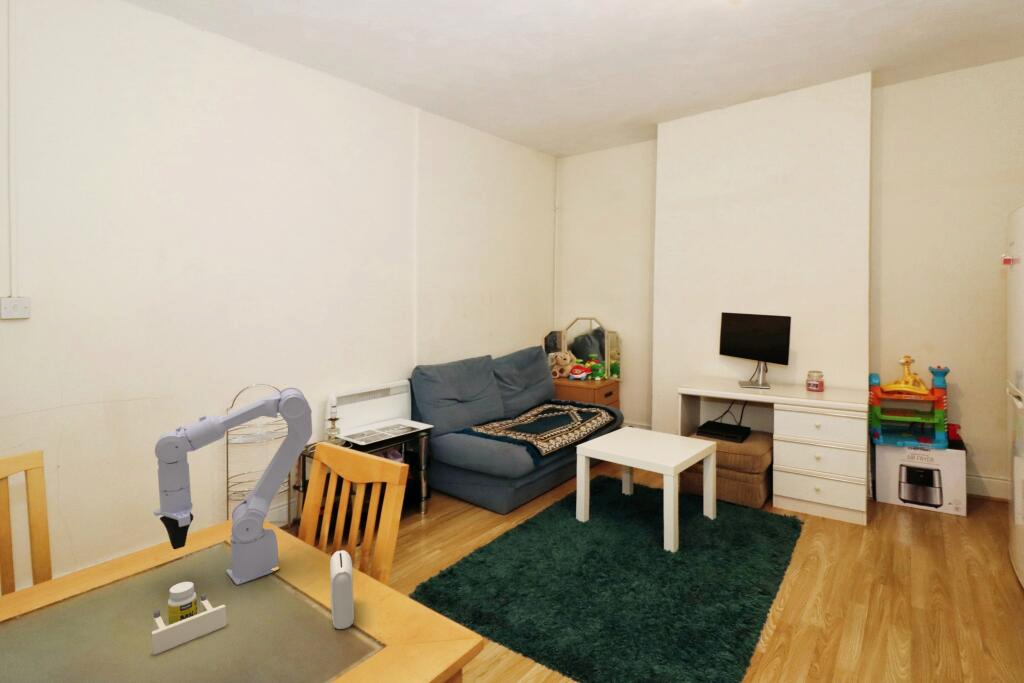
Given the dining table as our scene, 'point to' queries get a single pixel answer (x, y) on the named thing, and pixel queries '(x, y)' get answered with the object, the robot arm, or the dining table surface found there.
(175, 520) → the robot arm
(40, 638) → the dining table surface
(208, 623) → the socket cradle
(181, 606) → the supplement bottle
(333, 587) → the photo printer
